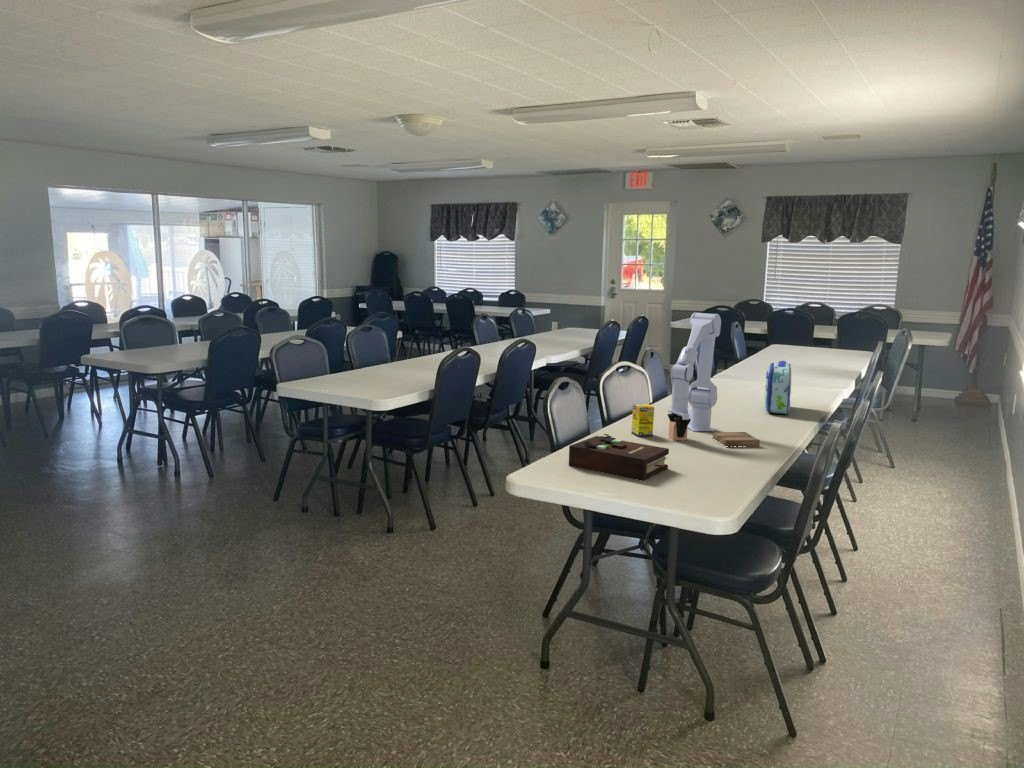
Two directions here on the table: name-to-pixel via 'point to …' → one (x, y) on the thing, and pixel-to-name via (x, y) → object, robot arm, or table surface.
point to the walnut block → (736, 439)
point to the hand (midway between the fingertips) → (677, 435)
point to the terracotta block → (675, 432)
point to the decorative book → (618, 457)
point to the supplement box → (642, 420)
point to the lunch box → (778, 388)
